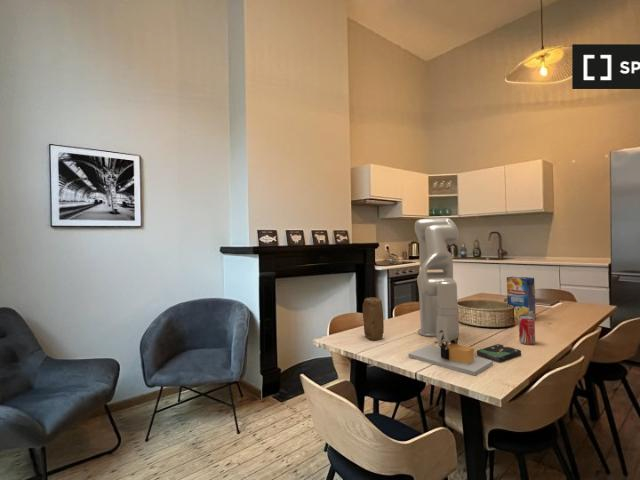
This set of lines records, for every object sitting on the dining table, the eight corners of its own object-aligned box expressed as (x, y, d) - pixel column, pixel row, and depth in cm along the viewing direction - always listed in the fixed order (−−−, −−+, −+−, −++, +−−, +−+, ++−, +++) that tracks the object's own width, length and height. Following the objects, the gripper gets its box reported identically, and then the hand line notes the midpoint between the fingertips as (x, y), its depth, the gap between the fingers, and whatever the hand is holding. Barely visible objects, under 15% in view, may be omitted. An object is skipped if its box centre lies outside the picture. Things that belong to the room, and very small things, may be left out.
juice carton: (535, 319, 195) (534, 277, 195) (528, 321, 192) (527, 279, 192) (514, 315, 206) (513, 276, 206) (507, 317, 202) (506, 277, 202)
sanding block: (452, 355, 139) (451, 343, 139) (474, 360, 132) (473, 347, 132) (445, 358, 135) (444, 346, 135) (467, 364, 128) (466, 351, 128)
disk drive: (497, 350, 149) (476, 356, 142) (497, 343, 149) (476, 350, 142) (521, 356, 140) (500, 364, 133) (521, 350, 140) (499, 357, 133)
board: (428, 348, 153) (428, 345, 153) (492, 364, 131) (492, 360, 131) (408, 357, 143) (408, 353, 143) (474, 376, 122) (474, 371, 122)
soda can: (530, 346, 151) (529, 319, 151) (516, 342, 156) (515, 316, 156) (538, 343, 154) (537, 317, 154) (524, 340, 159) (523, 314, 159)
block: (385, 339, 169) (383, 299, 169) (372, 341, 166) (370, 300, 166) (374, 334, 179) (373, 295, 179) (361, 335, 176) (360, 297, 176)
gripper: (450, 307, 145) (451, 349, 145) (427, 313, 134) (429, 359, 134) (467, 309, 139) (468, 353, 140) (445, 316, 128) (446, 364, 128)
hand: (449, 356), depth 137 cm, fingers open, 5 cm apart
